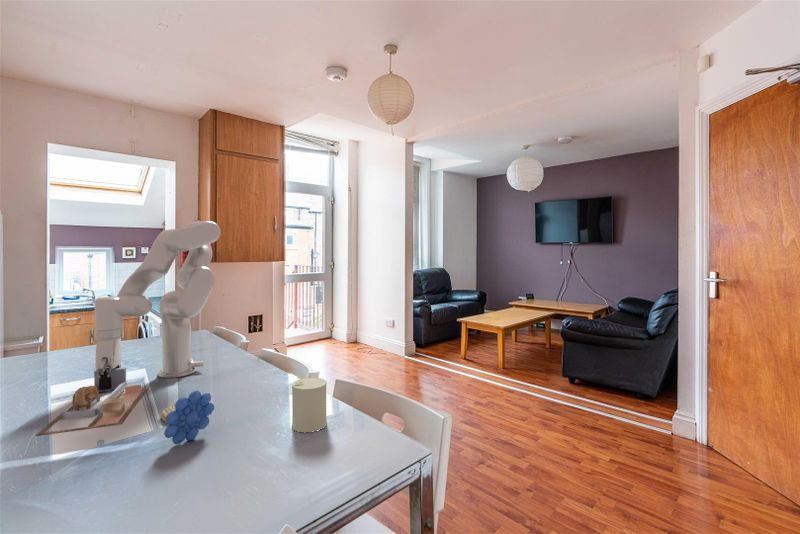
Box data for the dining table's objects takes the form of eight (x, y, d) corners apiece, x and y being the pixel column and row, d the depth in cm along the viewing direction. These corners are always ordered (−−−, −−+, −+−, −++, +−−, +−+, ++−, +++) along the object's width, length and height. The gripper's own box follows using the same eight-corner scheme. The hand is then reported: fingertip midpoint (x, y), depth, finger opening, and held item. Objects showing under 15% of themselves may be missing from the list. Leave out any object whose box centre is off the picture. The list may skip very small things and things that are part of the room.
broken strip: (142, 392, 124) (142, 383, 124) (117, 425, 100) (117, 414, 100) (125, 394, 122) (125, 385, 122) (95, 428, 99) (95, 417, 98)
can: (289, 421, 104) (289, 378, 103) (323, 415, 107) (323, 374, 107) (294, 436, 95) (294, 389, 95) (330, 429, 99) (330, 384, 98)
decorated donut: (211, 418, 106) (211, 405, 106) (168, 431, 98) (168, 417, 98) (198, 407, 113) (198, 395, 113) (157, 419, 105) (156, 405, 105)
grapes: (206, 426, 100) (205, 382, 100) (219, 434, 96) (218, 387, 96) (157, 444, 91) (156, 395, 90) (169, 453, 87) (168, 402, 86)
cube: (124, 410, 108) (124, 396, 107) (120, 416, 104) (120, 402, 104) (107, 412, 106) (107, 398, 106) (102, 418, 102) (102, 404, 102)
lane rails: (148, 391, 125) (148, 388, 125) (121, 427, 99) (121, 423, 99) (82, 399, 119) (82, 395, 119) (36, 439, 93) (35, 434, 93)
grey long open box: (126, 387, 129) (126, 367, 128) (98, 418, 105) (97, 393, 105) (96, 390, 126) (95, 370, 125) (60, 422, 102) (59, 397, 102)
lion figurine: (95, 419, 104) (95, 387, 104) (70, 424, 101) (69, 391, 101) (101, 401, 117) (101, 373, 116) (79, 405, 114) (78, 376, 113)
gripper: (105, 329, 132) (106, 377, 133) (85, 340, 116) (86, 395, 117) (130, 328, 135) (131, 375, 136) (114, 338, 119) (115, 391, 120)
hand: (110, 384), depth 126 cm, fingers open, 9 cm apart
